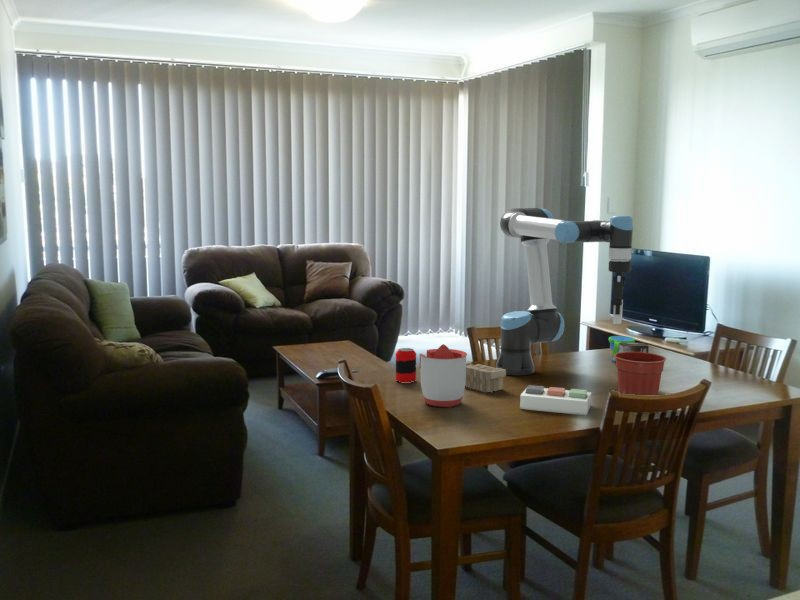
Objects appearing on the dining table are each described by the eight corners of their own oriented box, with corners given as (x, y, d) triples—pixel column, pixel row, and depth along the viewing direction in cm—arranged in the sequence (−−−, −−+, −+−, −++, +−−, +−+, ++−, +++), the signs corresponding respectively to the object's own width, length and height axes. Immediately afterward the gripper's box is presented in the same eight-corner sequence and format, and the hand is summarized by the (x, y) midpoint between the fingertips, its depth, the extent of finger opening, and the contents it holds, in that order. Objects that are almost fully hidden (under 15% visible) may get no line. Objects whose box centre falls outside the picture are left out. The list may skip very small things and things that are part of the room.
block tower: (433, 381, 283) (491, 394, 261) (433, 360, 282) (491, 370, 260) (448, 378, 288) (506, 390, 267) (448, 357, 287) (506, 367, 266)
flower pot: (672, 403, 249) (675, 356, 247) (649, 413, 238) (651, 364, 236) (627, 394, 261) (629, 349, 259) (602, 403, 249) (604, 356, 247)
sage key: (568, 401, 241) (569, 392, 240) (571, 397, 245) (571, 388, 245) (584, 403, 239) (585, 393, 238) (586, 399, 244) (586, 390, 243)
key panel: (520, 408, 243) (520, 395, 242) (527, 399, 254) (527, 386, 254) (586, 415, 236) (587, 401, 235) (590, 405, 247) (591, 392, 246)
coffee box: (642, 385, 274) (644, 342, 272) (647, 389, 267) (649, 345, 265) (617, 385, 274) (619, 342, 272) (621, 389, 268) (623, 345, 266)
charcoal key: (525, 397, 245) (525, 388, 245) (528, 393, 250) (528, 385, 250) (540, 398, 244) (541, 389, 243) (543, 395, 248) (543, 386, 248)
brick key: (547, 399, 243) (547, 390, 243) (549, 395, 248) (549, 386, 247) (562, 400, 241) (562, 391, 241) (564, 397, 246) (565, 388, 246)
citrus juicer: (426, 394, 261) (426, 337, 258) (473, 400, 253) (473, 342, 251) (407, 405, 247) (407, 345, 244) (456, 411, 239) (457, 350, 237)
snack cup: (625, 366, 304) (626, 342, 302) (601, 363, 310) (602, 339, 309) (640, 360, 316) (641, 336, 315) (616, 357, 322) (617, 334, 321)
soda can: (420, 380, 280) (420, 349, 278) (406, 384, 274) (406, 352, 273) (405, 377, 285) (405, 346, 283) (391, 381, 279) (391, 349, 278)
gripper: (630, 263, 247) (628, 326, 249) (631, 258, 270) (629, 316, 273) (607, 262, 249) (605, 325, 252) (610, 257, 272) (608, 315, 275)
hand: (617, 320), depth 262 cm, fingers open, 13 cm apart
